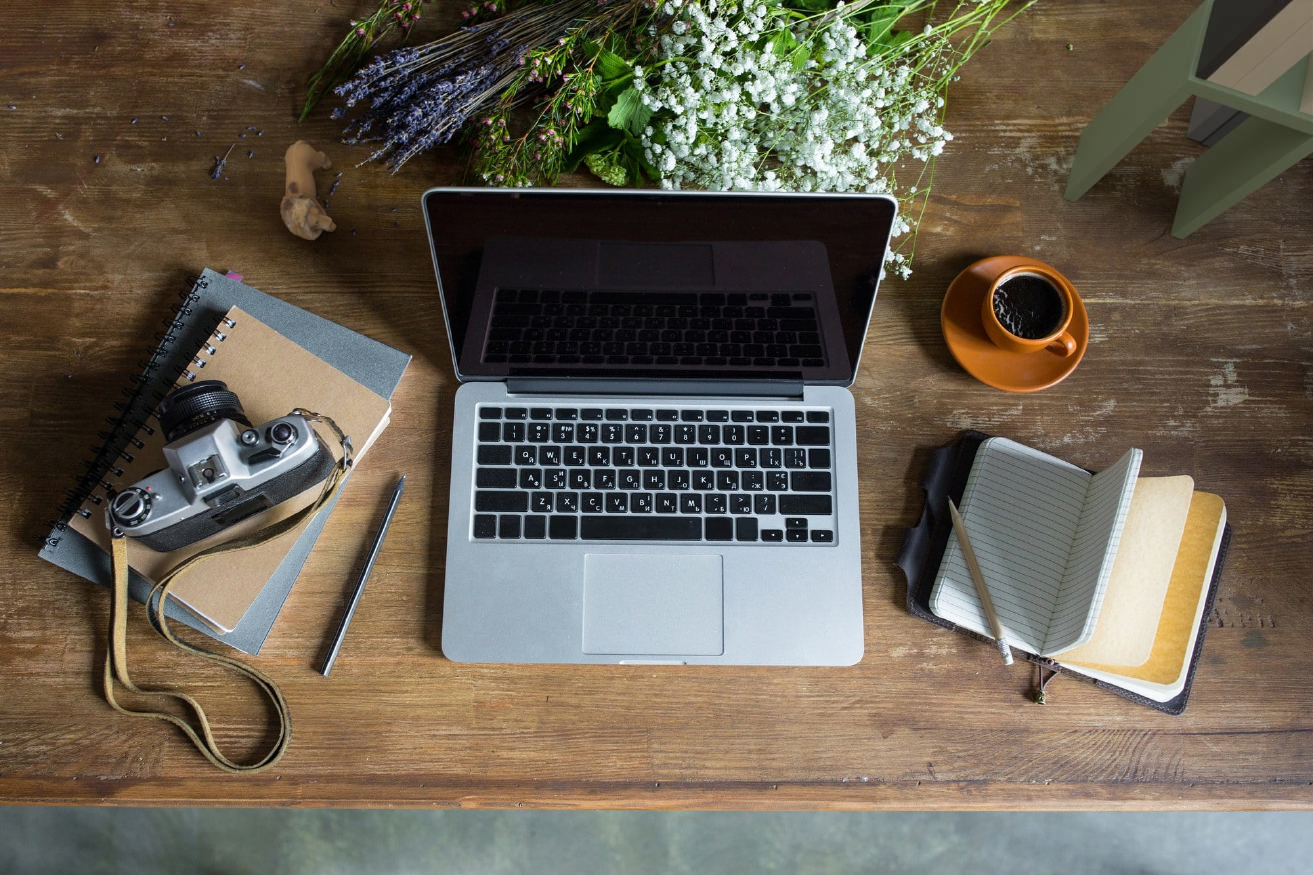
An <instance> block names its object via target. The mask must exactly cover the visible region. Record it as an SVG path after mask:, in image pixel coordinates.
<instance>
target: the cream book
mask: <svg viewBox="0 0 1313 875" xmlns="http://www.w3.org/2000/svg"><path fill="white" fill-rule="evenodd" d="M1299 112H1302V113H1305V114H1308V115H1311V116H1313V50H1312V51H1311V52H1310V57H1309V62H1308V67H1307V73H1306V78H1305V83H1304V88H1303V93H1302V98H1301V103H1300V109H1299Z"/></svg>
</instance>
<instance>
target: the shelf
mask: <svg viewBox="0 0 1313 875" xmlns="http://www.w3.org/2000/svg"><path fill="white" fill-rule="evenodd" d="M1213 2H1214V0H1204V1H1202V3H1201V4H1200V5H1199V6H1198V7H1197V8H1196V9H1195V10H1194V11H1193V12H1192V13H1191V14H1190V15H1189V17H1188V18H1187V19H1186V20H1184V22H1183V23H1182V24H1181V25H1180V26H1179V27H1178V29H1176V30H1175V31H1174V33H1172V35H1171V36H1170V37H1169V38H1168V39H1167V40H1166V41H1165V42H1164V43H1163V44H1162V45H1161V46H1160V47H1159V48H1158V49H1157V51H1155V52H1154V54H1153V55H1152V56H1151V57H1150V58H1148V60H1147V61H1146V62H1145V63H1144V64H1143V65H1142V66H1141V68H1139V69H1138V70H1137V71H1136V72H1135V74H1134V75H1133V76H1132V77H1130V79H1129V80H1128V81H1127V82H1126V83H1125V85H1124V86H1122V87H1121V89H1119V90H1118V92H1117V93H1115V95H1114V96H1113V97H1112V98H1111V99H1110V100H1109V101H1108V102H1107V104H1105V106H1103V108H1102V109H1101V110H1100V111H1099V112H1098V113H1097V114H1096V115H1095V116H1094V117H1093V118H1092V119H1091V120H1090V121H1089V122H1088V124H1087V125H1086V126H1084V128H1082V130H1081V134H1080V137H1079V141H1078V143H1077V147H1076V150H1075V154H1074V155H1075V156H1074V158H1073V162H1072V165H1071V169H1070V171H1069V172H1070V173H1069V176H1068V179H1067V183H1066V187H1065V190H1064V194H1063V197H1062V199H1064V200H1067V201H1070V202H1073V203H1076V202H1077V201H1078V200H1079V199H1080V198H1082V197H1083V196H1084V195H1085V194H1086V193H1087V192H1088V191H1089V190H1090V189H1091V188H1092V187H1094V186H1095V185H1096V184H1097V183H1098V182H1099V181H1100V180H1101V179H1102V178H1103V177H1104V176H1105V175H1107V174H1108V173H1109V172H1110V171H1111V170H1112V169H1113V168H1114V167H1115V166H1116V165H1117V164H1119V163H1120V162H1121V161H1122V160H1123V159H1125V157H1126V156H1128V154H1129V153H1131V152H1132V150H1134V149H1135V148H1136V147H1137V146H1138V145H1139V144H1140V143H1142V142H1143V141H1144V140H1145V139H1146V138H1147V137H1148V136H1149V135H1150V134H1151V133H1152V132H1154V131H1155V130H1156V129H1157V128H1158V127H1159V126H1160V125H1161V124H1162V123H1164V122H1165V121H1166V119H1168V118H1169V117H1170V116H1171V115H1172V114H1173V113H1174V112H1175V111H1177V110H1178V109H1179V108H1180V107H1181V106H1182V105H1183V104H1184V103H1185V102H1186V101H1187V100H1188V99H1190V98H1191V96H1195V97H1196V96H1199V97H1202V98H1204V99H1207V100H1210V101H1213V102H1216V103H1219V104H1222V105H1225V106H1228V107H1231V108H1234V109H1237V110H1240V111H1243V112H1246V113H1249V114H1252V115H1251V116H1250V117H1249V118H1248V119H1246V120H1245V121H1244V122H1242V123H1241V124H1240V125H1239V126H1237V127H1236V128H1235V129H1234V130H1232V131H1231V132H1230V133H1229V134H1227V135H1226V136H1225V137H1224V138H1222V139H1221V140H1220V141H1219V142H1217V143H1216V144H1215V145H1214V146H1212V147H1211V148H1210V147H1209V149H1207V150H1206V151H1205V152H1204V153H1202V154H1201V155H1200V156H1198V157H1197V158H1196V159H1195V160H1193V161H1192V162H1191V163H1190V164H1188V165H1187V166H1186V170H1185V175H1184V178H1183V183H1182V186H1181V191H1180V195H1179V199H1178V202H1177V207H1176V210H1175V215H1174V218H1173V224H1172V228H1171V231H1170V237H1173V238H1176V239H1178V240H1181V241H1182V240H1184V239H1185V238H1187V237H1188V236H1190V235H1191V234H1193V233H1194V232H1196V231H1197V230H1199V229H1200V228H1203V227H1204V226H1205V225H1206V224H1208V223H1209V222H1211V221H1213V220H1214V219H1215V218H1217V217H1219V216H1220V215H1221V214H1223V213H1224V212H1226V211H1228V210H1229V209H1230V208H1232V207H1233V206H1235V205H1236V204H1238V203H1239V202H1241V201H1242V200H1244V199H1245V198H1246V197H1248V196H1250V195H1252V194H1253V193H1254V192H1256V191H1257V190H1259V189H1260V188H1261V187H1263V186H1265V185H1266V184H1267V183H1269V182H1271V181H1272V180H1273V179H1275V178H1277V177H1278V176H1280V175H1281V174H1282V173H1284V172H1286V171H1287V170H1288V169H1290V168H1291V167H1293V166H1295V165H1296V164H1297V163H1299V162H1300V161H1302V160H1304V159H1305V158H1306V157H1308V156H1309V155H1311V154H1312V153H1313V116H1311V115H1308V114H1305V113H1302V112H1299V109H1300V103H1301V98H1302V93H1303V88H1304V83H1305V78H1306V73H1307V67H1308V62H1309V57H1310V52H1311V51H1310V52H1309V53H1308V54H1307V55H1305V56H1304V57H1303V58H1302V59H1301V60H1299V61H1298V62H1297V63H1296V64H1294V65H1293V66H1292V67H1291V68H1290V69H1288V70H1287V71H1286V72H1285V73H1284V74H1282V75H1281V76H1280V77H1279V78H1277V79H1276V80H1275V81H1274V82H1273V83H1271V84H1270V85H1269V86H1268V87H1266V88H1265V89H1264V90H1263V91H1262V92H1260V93H1259V94H1258V95H1257V96H1256V97H1254V96H1251V95H1248V94H1245V93H1242V92H1239V91H1236V90H1233V89H1231V88H1227V87H1224V86H1221V85H1218V84H1215V83H1212V82H1209V81H1207V80H1206V79H1207V78H1206V79H1205V80H1204V79H1201V78H1198V77H1195V75H1196V71H1197V67H1198V62H1199V58H1200V54H1201V50H1202V46H1203V42H1204V38H1205V34H1206V30H1207V26H1208V22H1209V18H1210V14H1211V10H1212V6H1213Z"/></svg>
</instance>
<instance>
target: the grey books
mask: <svg viewBox="0 0 1313 875" xmlns="http://www.w3.org/2000/svg"><path fill="white" fill-rule="evenodd" d="M1251 115H1252V114H1249V113H1246V112H1243V111H1240V110H1237V109H1234V108H1231V107H1228V106H1225V105H1222V104H1219V103H1216V102H1213V101H1210V100H1207V99H1204V98H1202V97H1199V96H1196V95H1195V98H1194V103H1193V107H1192V111H1191V115H1190V118H1189V122H1188V127H1187V131H1186V136H1185V137H1186V138H1188V139H1191V140H1192V141H1193V140H1194V141H1197V142H1199V143H1201V145H1202V146H1204V147H1208V148H1209V149H1210V148H1211V147H1212V146H1214V145H1215V144H1216V143H1217V142H1219V141H1220V140H1221V139H1222V138H1224V137H1225V136H1226V135H1227V134H1229V133H1230V132H1231V131H1232V130H1234V129H1235V128H1236V127H1237V126H1239V125H1240V124H1241V123H1242V122H1244V121H1245V120H1246V119H1248V118H1249V117H1250V116H1251Z"/></svg>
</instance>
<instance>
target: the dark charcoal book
mask: <svg viewBox="0 0 1313 875" xmlns="http://www.w3.org/2000/svg"><path fill="white" fill-rule="evenodd" d="M1312 50H1313V0H1214V2H1213V6H1212V10H1211V14H1210V18H1209V22H1208V26H1207V30H1206V34H1205V38H1204V42H1203V46H1202V50H1201V54H1200V58H1199V62H1198V67H1197V71H1196V75H1195V77H1198V78H1201V79H1204V80H1205V79H1206V78H1207V79H1206V80H1207V81H1209V82H1212V83H1215V84H1218V85H1221V86H1224V87H1227V88H1231V89H1233V90H1236V91H1239V92H1242V93H1245V94H1248V95H1251V96H1254V97H1256V96H1257V95H1258V94H1259V93H1260V92H1262V91H1263V90H1264V89H1265V88H1266V87H1268V86H1269V85H1270V84H1271V83H1273V82H1274V81H1275V80H1276V79H1277V78H1279V77H1280V76H1281V75H1282V74H1284V73H1285V72H1286V71H1287V70H1288V69H1290V68H1291V67H1292V66H1293V65H1294V64H1296V63H1297V62H1298V61H1299V60H1301V59H1302V58H1303V57H1304V56H1305V55H1307V54H1308V53H1309V52H1310V51H1312Z"/></svg>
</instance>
